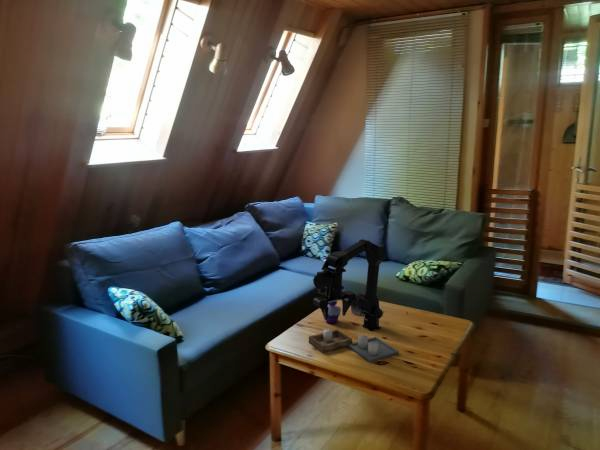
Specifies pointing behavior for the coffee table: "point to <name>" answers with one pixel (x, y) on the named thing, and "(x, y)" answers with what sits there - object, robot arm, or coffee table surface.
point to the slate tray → (383, 350)
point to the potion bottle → (333, 313)
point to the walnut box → (337, 342)
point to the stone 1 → (327, 335)
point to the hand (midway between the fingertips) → (334, 317)
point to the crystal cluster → (357, 305)
